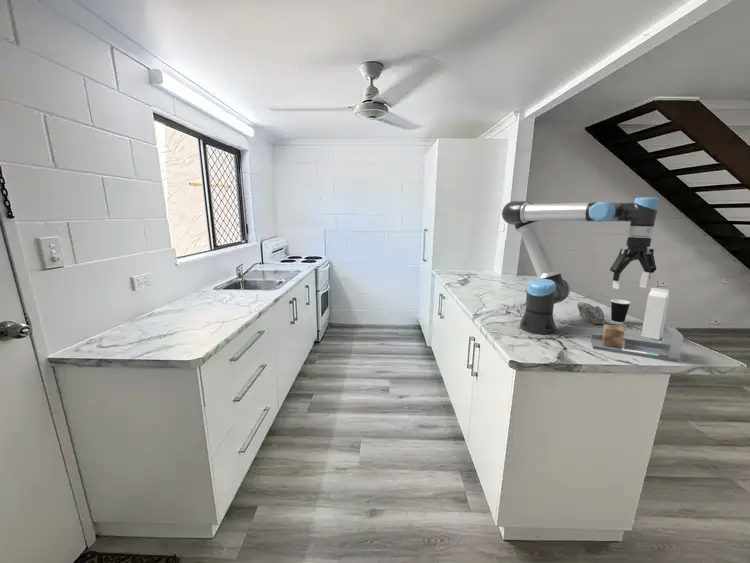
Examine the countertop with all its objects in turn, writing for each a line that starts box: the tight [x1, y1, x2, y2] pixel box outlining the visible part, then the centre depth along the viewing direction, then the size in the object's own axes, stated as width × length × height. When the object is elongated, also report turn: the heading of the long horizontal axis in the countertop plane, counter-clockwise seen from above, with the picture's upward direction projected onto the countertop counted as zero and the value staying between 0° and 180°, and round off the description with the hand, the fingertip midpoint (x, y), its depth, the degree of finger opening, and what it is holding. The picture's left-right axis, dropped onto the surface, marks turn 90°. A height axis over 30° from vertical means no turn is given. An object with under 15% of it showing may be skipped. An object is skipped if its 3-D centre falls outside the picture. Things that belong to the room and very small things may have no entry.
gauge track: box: [590, 333, 680, 363], centre depth 126 cm, size 26×10×3 cm, turn 61°
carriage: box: [601, 323, 625, 349], centre depth 128 cm, size 7×7×7 cm
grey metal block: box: [660, 325, 684, 360], centre depth 120 cm, size 3×10×9 cm, turn 151°
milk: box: [641, 287, 670, 341], centre depth 138 cm, size 6×6×22 cm
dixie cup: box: [610, 298, 632, 325], centre depth 159 cm, size 8×8×11 cm
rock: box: [576, 301, 607, 325], centre depth 162 cm, size 16×8×10 cm, turn 175°
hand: (629, 288), depth 132 cm, fingers open, 13 cm apart
